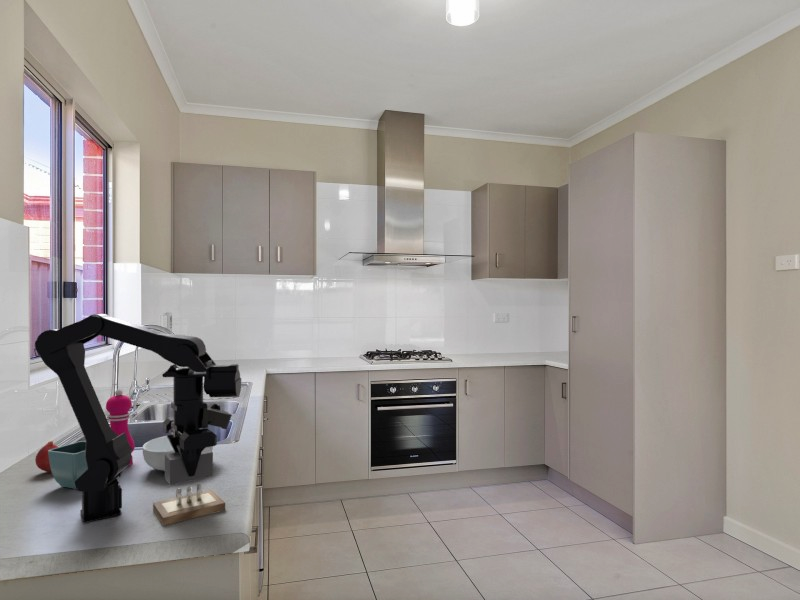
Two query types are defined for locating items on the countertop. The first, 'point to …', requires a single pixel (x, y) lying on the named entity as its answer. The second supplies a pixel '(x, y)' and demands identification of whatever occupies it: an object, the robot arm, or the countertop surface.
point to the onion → (44, 457)
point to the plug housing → (177, 470)
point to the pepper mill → (120, 415)
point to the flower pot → (68, 463)
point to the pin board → (188, 507)
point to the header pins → (188, 494)
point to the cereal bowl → (158, 452)
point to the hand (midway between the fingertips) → (188, 472)
